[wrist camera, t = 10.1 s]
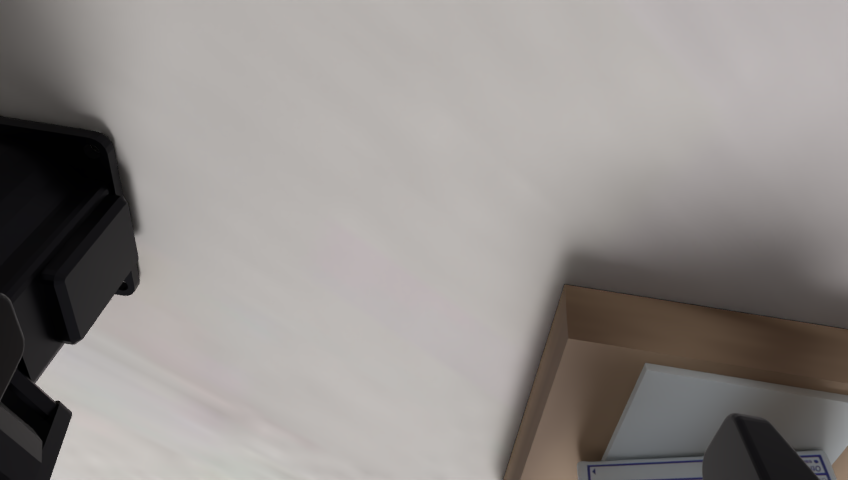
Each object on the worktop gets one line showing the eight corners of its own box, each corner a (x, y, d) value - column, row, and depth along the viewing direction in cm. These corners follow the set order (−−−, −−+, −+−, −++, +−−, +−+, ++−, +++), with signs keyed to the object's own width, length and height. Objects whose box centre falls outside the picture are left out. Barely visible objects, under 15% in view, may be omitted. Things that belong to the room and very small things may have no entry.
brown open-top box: (500, 487, 30) (498, 548, 28) (564, 284, 23) (568, 345, 21) (774, 533, 30) (794, 598, 28) (928, 342, 23) (972, 410, 20)
